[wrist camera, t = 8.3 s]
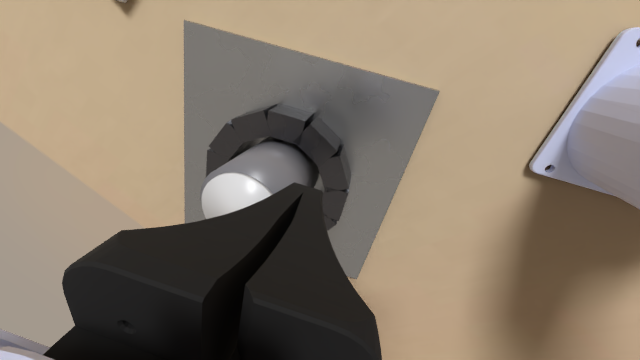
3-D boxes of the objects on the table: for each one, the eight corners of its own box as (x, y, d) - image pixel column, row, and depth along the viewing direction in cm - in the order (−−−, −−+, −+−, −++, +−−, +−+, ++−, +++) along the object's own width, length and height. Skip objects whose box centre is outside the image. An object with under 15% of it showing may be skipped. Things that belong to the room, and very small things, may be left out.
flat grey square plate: (437, 90, 15) (451, 96, 13) (356, 274, 23) (355, 302, 20) (190, 21, 16) (154, 14, 14) (188, 220, 24) (165, 240, 21)
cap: (327, 149, 17) (296, 191, 12) (308, 208, 20) (275, 266, 14) (259, 124, 18) (198, 153, 12) (249, 184, 20) (194, 231, 14)
